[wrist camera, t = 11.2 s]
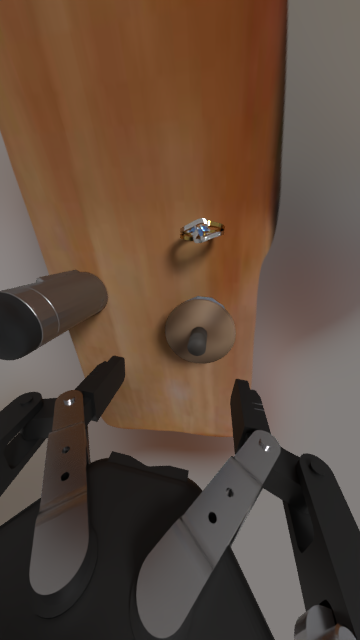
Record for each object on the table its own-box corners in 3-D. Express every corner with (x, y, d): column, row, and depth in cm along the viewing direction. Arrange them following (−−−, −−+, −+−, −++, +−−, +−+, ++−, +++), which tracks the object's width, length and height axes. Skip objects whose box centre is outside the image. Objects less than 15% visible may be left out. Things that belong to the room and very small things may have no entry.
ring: (183, 242, 34) (174, 242, 27) (184, 222, 33) (175, 217, 26) (222, 243, 33) (223, 244, 26) (224, 223, 32) (227, 218, 25)
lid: (154, 336, 37) (143, 352, 32) (191, 284, 32) (186, 292, 27) (206, 372, 38) (204, 392, 33) (250, 327, 33) (257, 343, 28)
